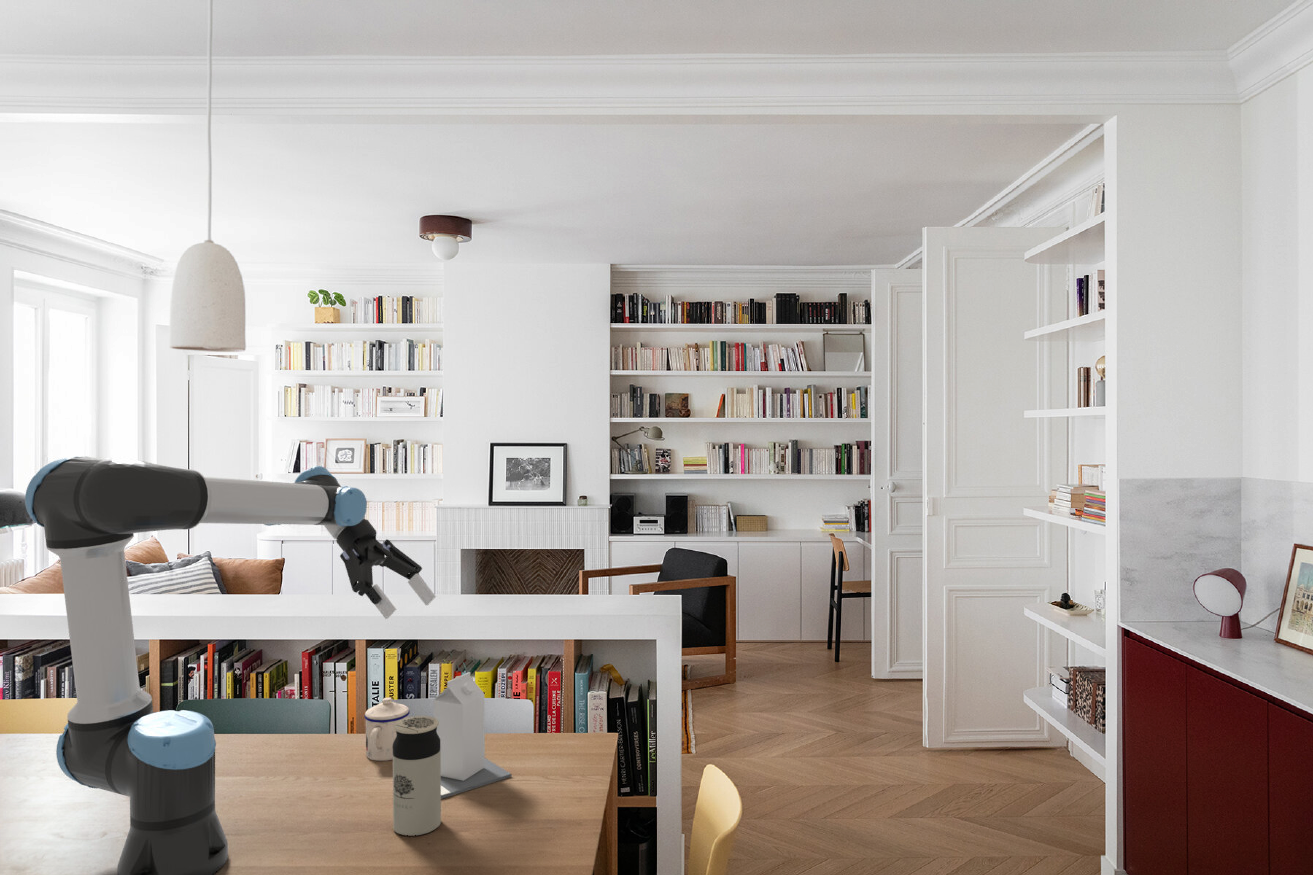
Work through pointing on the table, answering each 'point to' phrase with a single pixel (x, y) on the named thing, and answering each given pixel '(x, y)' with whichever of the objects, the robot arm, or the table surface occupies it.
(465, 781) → the mat
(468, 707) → the milk carton
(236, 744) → the table surface
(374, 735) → the teacup with lid
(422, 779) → the travel mug
